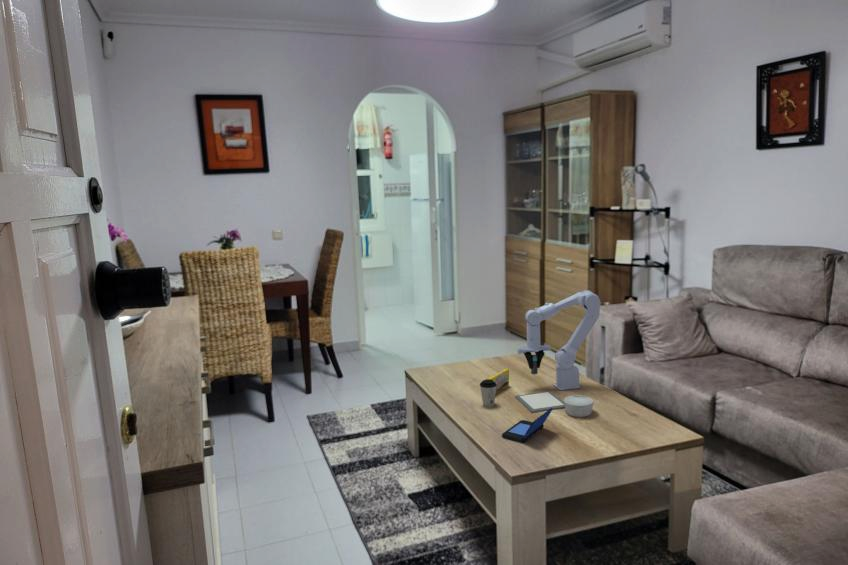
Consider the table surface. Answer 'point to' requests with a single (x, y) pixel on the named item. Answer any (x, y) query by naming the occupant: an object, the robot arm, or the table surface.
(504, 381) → the candy box
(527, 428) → the handheld game console
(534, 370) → the marker
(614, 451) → the table surface
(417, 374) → the table surface
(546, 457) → the table surface
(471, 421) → the table surface
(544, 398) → the sketch board
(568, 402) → the ramekin
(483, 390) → the coffee cup
